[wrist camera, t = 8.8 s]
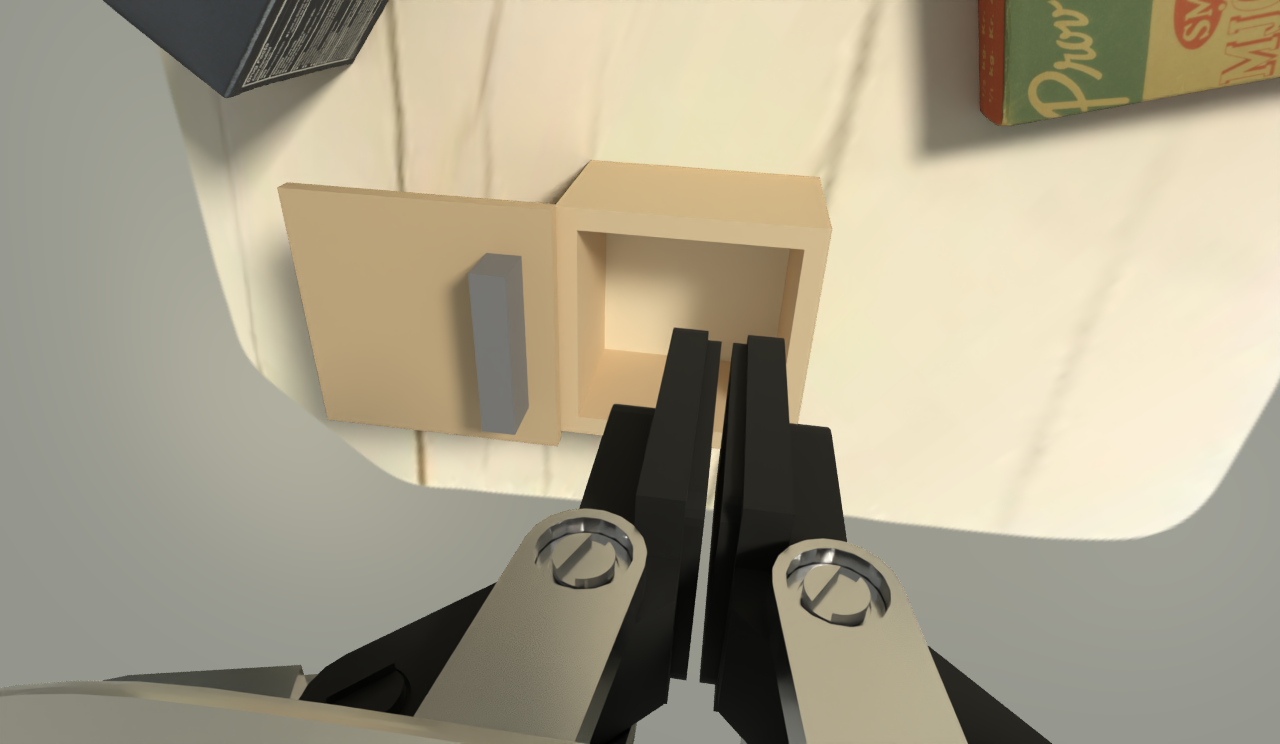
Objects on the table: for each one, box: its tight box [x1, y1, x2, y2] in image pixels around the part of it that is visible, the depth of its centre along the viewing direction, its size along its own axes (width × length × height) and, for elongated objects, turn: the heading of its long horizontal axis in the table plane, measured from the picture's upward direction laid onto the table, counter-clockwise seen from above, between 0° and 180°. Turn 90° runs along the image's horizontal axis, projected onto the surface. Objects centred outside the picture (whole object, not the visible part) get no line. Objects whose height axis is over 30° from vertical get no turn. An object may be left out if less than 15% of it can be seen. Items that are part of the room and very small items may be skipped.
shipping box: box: [556, 160, 832, 449], centre depth 38 cm, size 12×12×8 cm
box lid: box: [277, 183, 561, 446], centre depth 34 cm, size 12×12×3 cm
